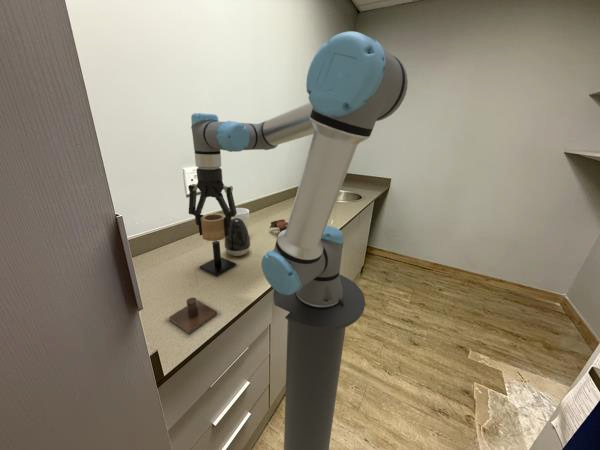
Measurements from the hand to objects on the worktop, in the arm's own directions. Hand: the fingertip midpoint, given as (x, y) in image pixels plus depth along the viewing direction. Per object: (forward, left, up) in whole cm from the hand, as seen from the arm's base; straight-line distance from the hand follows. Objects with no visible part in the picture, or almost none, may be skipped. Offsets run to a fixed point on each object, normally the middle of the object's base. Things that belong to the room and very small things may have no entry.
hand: (214, 234), depth 84 cm
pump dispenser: (+2, -12, -13) cm, 18 cm away
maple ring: (0, 0, -1) cm, 1 cm away
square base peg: (0, 0, -13) cm, 13 cm away
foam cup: (+13, -24, -13) cm, 30 cm away
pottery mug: (0, -40, -13) cm, 42 cm away
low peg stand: (-15, +21, -13) cm, 29 cm away
